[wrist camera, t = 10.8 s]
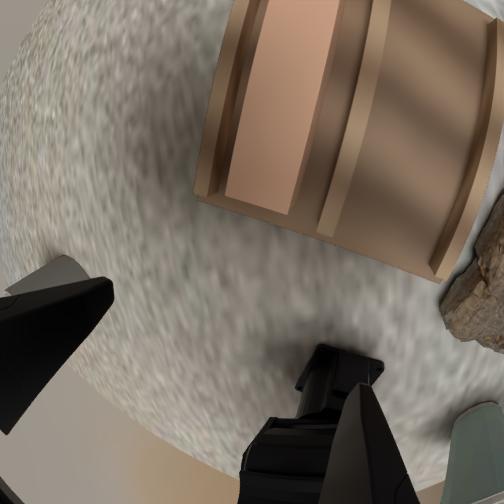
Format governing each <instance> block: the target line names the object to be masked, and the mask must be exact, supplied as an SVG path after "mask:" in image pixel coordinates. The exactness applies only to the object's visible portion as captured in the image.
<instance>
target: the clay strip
mask: <svg viewBox="0 0 504 504" xmlns="http://www.w3.org/2000/svg"><path fill="white" fill-rule="evenodd" d="M345 3H346V0H269V2H268V6H267V10H266V13H265V17H264V21H263V25H262V29H261V32H260V36H259V40H258V44H257V48H256V52H255V56H254V60H253V65H252V69H251V73H250V77H249V81H248V86H247V90H246V95H245V99H244V103H243V108H242V113H241V117H240V122H239V126H238V131H237V136H236V141H235V146H234V151H233V155H232V160H231V166H230V171H229V176H228V181H227V186H226V192H225V196H228V197H231V198H234V199H238V200H241V201H244V202H247V203H251V204H254V205H257V206H260V207H263V208H267V209H270V210H273V211H276V212H279V213H282V214H285V215H288V213H289V212H290V211H291V210H292V208H293V207H294V206H295V204H296V203H297V201H298V197H299V194H300V190H301V186H302V183H303V179H304V175H305V172H306V168H307V164H308V161H309V157H310V153H311V149H312V145H313V141H314V138H315V134H316V130H317V126H318V122H319V118H320V114H321V110H322V106H323V102H324V98H325V93H326V89H327V85H328V81H329V77H330V72H331V68H332V64H333V59H334V55H335V50H336V46H337V41H338V37H339V32H340V27H341V23H342V18H343V13H344V8H345Z"/></svg>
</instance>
